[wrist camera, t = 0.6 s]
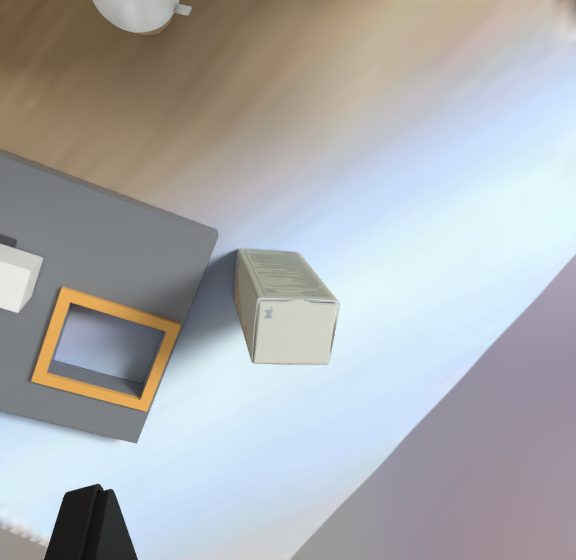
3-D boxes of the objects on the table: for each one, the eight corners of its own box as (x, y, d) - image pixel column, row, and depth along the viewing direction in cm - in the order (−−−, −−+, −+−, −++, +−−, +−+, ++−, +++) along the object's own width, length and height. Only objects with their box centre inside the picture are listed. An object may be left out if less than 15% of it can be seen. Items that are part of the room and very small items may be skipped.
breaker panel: (-10, 145, 35) (-24, 148, 33) (217, 229, 40) (218, 237, 37) (-73, 375, 39) (-89, 392, 37) (138, 429, 44) (136, 446, 42)
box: (232, 299, 42) (245, 365, 31) (237, 246, 40) (252, 296, 30) (297, 302, 43) (331, 367, 32) (304, 251, 41) (341, 301, 31)
